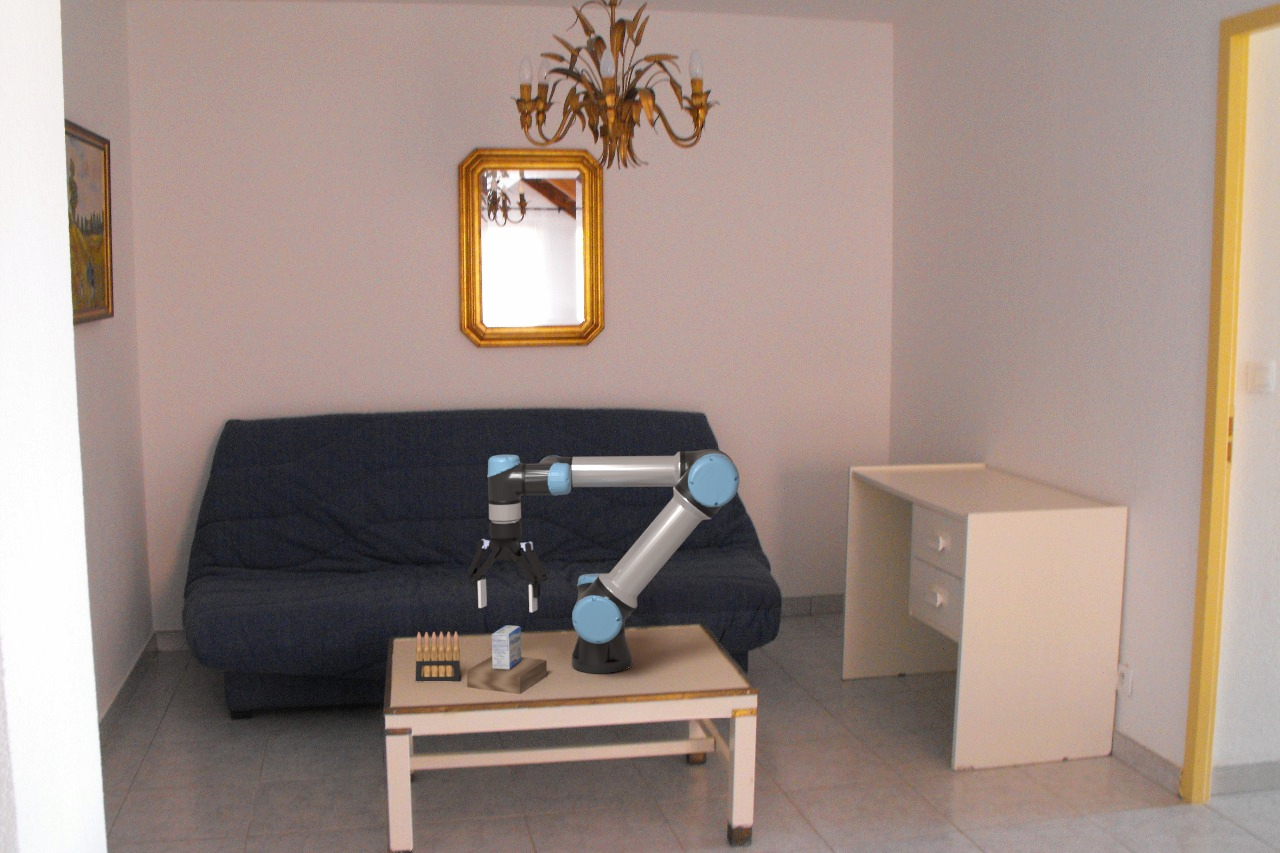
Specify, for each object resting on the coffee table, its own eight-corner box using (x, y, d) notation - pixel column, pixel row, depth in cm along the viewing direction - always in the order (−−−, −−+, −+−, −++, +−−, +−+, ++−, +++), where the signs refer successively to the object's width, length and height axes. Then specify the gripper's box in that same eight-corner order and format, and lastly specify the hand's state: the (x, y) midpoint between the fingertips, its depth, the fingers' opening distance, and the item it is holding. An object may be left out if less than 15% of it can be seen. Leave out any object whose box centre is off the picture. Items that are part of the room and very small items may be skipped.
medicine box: (509, 670, 264) (509, 634, 263) (491, 669, 265) (491, 633, 264) (521, 661, 271) (521, 625, 271) (504, 659, 273) (504, 624, 272)
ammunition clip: (461, 679, 271) (460, 630, 270) (460, 681, 269) (459, 632, 268) (416, 679, 270) (415, 630, 269) (415, 682, 269) (414, 632, 268)
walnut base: (546, 676, 273) (546, 660, 272) (520, 693, 260) (519, 676, 259) (495, 670, 278) (495, 654, 277) (467, 686, 265) (466, 670, 264)
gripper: (559, 520, 264) (562, 608, 266) (467, 515, 273) (469, 601, 275) (545, 525, 257) (548, 616, 259) (451, 520, 266) (453, 608, 268)
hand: (507, 608), depth 267 cm, fingers open, 13 cm apart
